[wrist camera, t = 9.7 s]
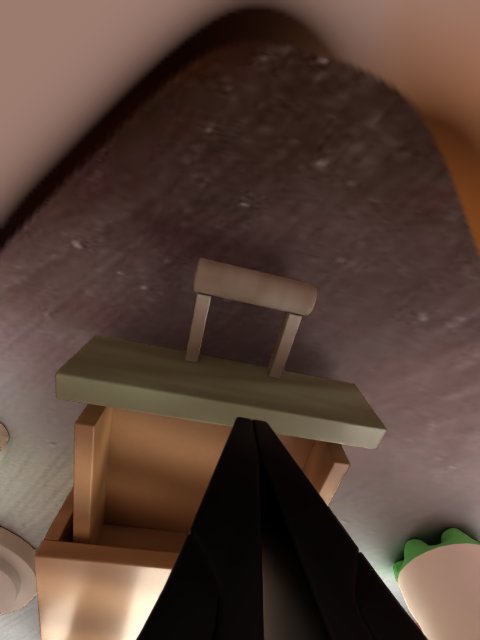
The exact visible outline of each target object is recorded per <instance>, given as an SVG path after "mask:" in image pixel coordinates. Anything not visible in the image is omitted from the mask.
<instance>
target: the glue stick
mask: <svg viewBox="0 0 480 640" xmlns="http://www.w3.org/2000/svg"><path fill="white" fill-rule="evenodd" d="M8 438H9V436H8V432H7V430H6V428H5V427H4V426H3V425H2V424H1V423H0V451H1V450H2V448H3V447H4V446H5V445H6V444H7V442H8Z"/></svg>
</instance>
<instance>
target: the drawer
mask: <svg viewBox="0 0 480 640" xmlns="http://www.w3.org/2000/svg"><path fill="white" fill-rule="evenodd" d="M193 291H195V292H198V293H197V297H196V302H195V307H194V313H193V318H192V323H191V328H190V334H189V339H188V344H187V350H186V352H184V351H179V350H174V349H168V348H163V347H158V346H153V345H147V344H142V343H137V342H132V341H126V340H121V339H116V338H111V337H105V336H100V335H95V336H94V337H93V338H92V339H91V340H90V341H89V342H88V343H87V344H86V345H85V346H83V347H82V348H81V349H80V350H79V351H78V352H77V353H76V354H75V355H74V356H73V357H72V358H71V359H70V360H69V361H68V362H67V363H65V364H64V365H63V366H62V367H61V368H60V369H59V370H58V371H57V372H56V398H57V399H62V400H69V401H75V402H81V403H87V404H88V405H87V407H86V408H85V409H84V411H83V412H82V414H81V415H80V416H79V418H78V419H77V420H76V422H75V424H74V504H73V543H81V544H91V545H101V546H112V547H122V548H132V549H142V550H152V551H162V552H172V553H179V552H180V550H181V548H182V545H183V543H184V540H185V538H186V536H187V534H188V532H189V529H190V527H191V524H192V522H193V520H194V517H195V515H196V513H197V510H198V508H199V505H200V503H201V501H202V498H203V496H204V494H205V491H206V489H207V486H208V484H209V482H210V479H211V477H212V475H213V472H214V470H215V467H216V465H217V463H218V460H219V458H220V456H221V453H222V451H223V448H224V446H225V444H226V441H227V439H228V437H229V434H230V432H231V429H232V427H233V425H234V422H235V420H236V418H237V417H244V418H249V419H251V420H253V419H256V420H262V421H266V422H267V423H268V424H269V425H270V427H271V428H272V429H273V431H274V432H275V434H276V435H277V436H278V438H279V439H280V440H281V442H282V443H283V445H284V446H285V447H286V449H287V450H288V451H289V453H290V454H291V456H292V457H293V458H294V460H295V461H296V463H297V464H298V465H299V467H300V468H301V469H302V471H303V472H304V474H305V475H306V476H307V478H308V479H309V480H310V482H311V483H312V485H313V486H314V487H315V489H316V490H317V492H318V493H319V494H320V496H321V497H322V498H323V500H324V501H325V503H326V504H327V505H329V503H330V501H331V499H332V497H333V496H334V494H335V492H336V490H337V488H338V486H339V485H340V483H341V481H342V479H343V477H344V475H345V474H346V472H347V470H348V468H349V466H350V463H349V461H348V459H347V456H346V454H345V452H344V450H343V448H342V446H341V444H344V445H350V446H357V447H363V448H369V449H376V448H377V446H378V444H379V443H380V441H381V439H382V437H383V436H384V434H385V432H386V431H387V429H386V427H385V426H384V425H383V423H382V422H381V420H380V419H379V417H378V416H377V415H376V413H375V412H374V410H373V409H372V408H371V406H370V405H369V403H368V402H367V401H366V399H365V398H364V396H363V395H362V394H361V392H360V391H359V389H358V388H357V386H356V385H355V384H352V383H347V382H342V381H336V380H331V379H326V378H321V377H315V376H310V375H305V374H300V373H294V372H289V371H284V370H283V369H284V367H285V364H286V361H287V358H288V355H289V352H290V350H291V347H292V344H293V341H294V338H295V335H296V333H297V330H298V327H299V324H300V321H301V318H302V316H301V315H304V316H306V315H309V314H310V313H311V311H312V310H313V307H314V305H315V302H316V297H317V288H316V286H315V285H314V284H311V283H306V282H302V281H298V280H294V279H289V278H285V277H281V276H277V275H272V274H268V273H264V272H260V271H255V270H251V269H247V268H243V267H238V266H234V265H230V264H226V263H221V262H217V261H213V260H208V259H204V258H200V259H199V260H198V263H197V267H196V271H195V276H194V282H193ZM212 295H213V296H217V297H222V298H226V299H231V300H236V301H240V302H245V303H249V304H254V305H258V306H263V307H268V308H272V309H277V310H281V311H286V314H285V317H284V320H283V323H282V326H281V329H280V332H279V335H278V338H277V341H276V344H275V347H274V350H273V354H272V357H271V360H270V363H269V366H268V367H263V366H258V365H252V364H247V363H242V362H237V361H231V360H226V359H221V358H216V357H210V356H205V355H200V354H199V353H200V348H201V344H202V339H203V334H204V329H205V325H206V320H207V315H208V310H209V306H210V301H211V296H212Z"/></svg>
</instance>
